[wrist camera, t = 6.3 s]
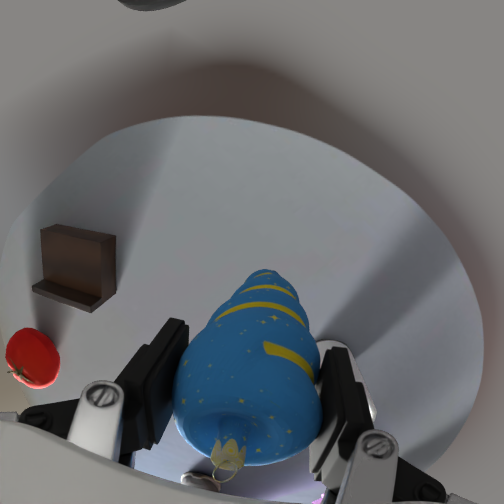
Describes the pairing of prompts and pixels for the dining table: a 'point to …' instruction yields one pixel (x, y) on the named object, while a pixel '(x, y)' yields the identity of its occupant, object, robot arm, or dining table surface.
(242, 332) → the ornament
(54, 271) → the shelf
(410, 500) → the robot arm
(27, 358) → the tomato
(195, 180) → the dining table surface
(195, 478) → the athletic shoe
